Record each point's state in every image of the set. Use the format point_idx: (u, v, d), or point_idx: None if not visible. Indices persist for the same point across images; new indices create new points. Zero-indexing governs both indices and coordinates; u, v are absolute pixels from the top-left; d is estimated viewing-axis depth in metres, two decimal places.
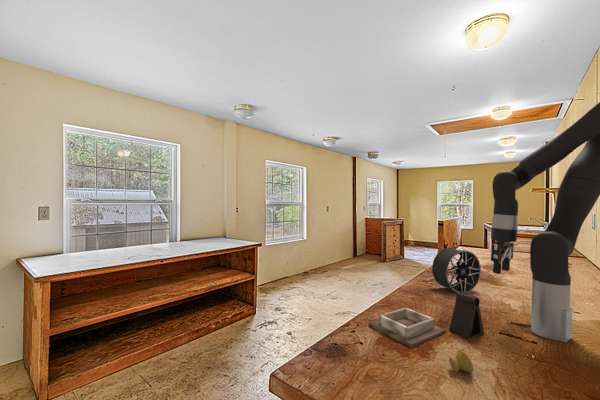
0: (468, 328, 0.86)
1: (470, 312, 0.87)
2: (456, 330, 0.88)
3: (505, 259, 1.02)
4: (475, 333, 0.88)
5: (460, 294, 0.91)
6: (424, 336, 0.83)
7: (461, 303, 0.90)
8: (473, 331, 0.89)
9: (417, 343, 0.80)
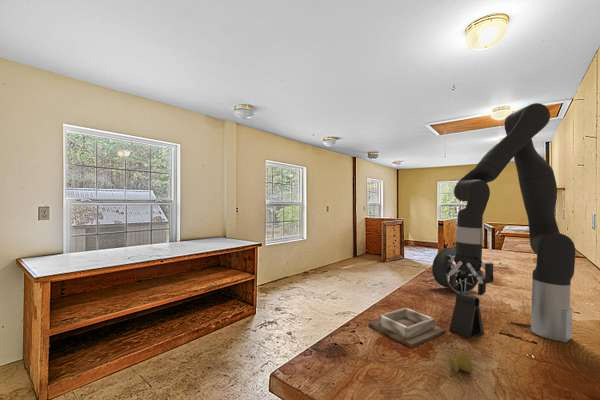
0: (468, 328, 0.86)
1: (470, 312, 0.87)
2: (456, 330, 0.88)
3: (454, 275, 0.94)
4: (475, 333, 0.88)
5: (460, 294, 0.91)
6: (424, 336, 0.83)
7: (461, 303, 0.90)
8: (473, 331, 0.89)
9: (417, 343, 0.80)
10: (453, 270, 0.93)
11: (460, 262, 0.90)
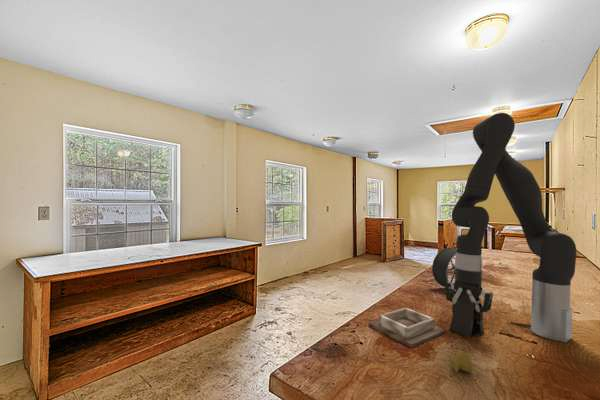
0: (468, 328, 0.86)
1: (470, 312, 0.87)
2: (456, 330, 0.88)
3: None
4: (475, 333, 0.88)
5: None
6: (424, 336, 0.83)
7: (461, 303, 0.90)
8: (473, 331, 0.89)
9: (417, 343, 0.80)
10: (455, 298, 0.92)
11: (460, 288, 0.90)
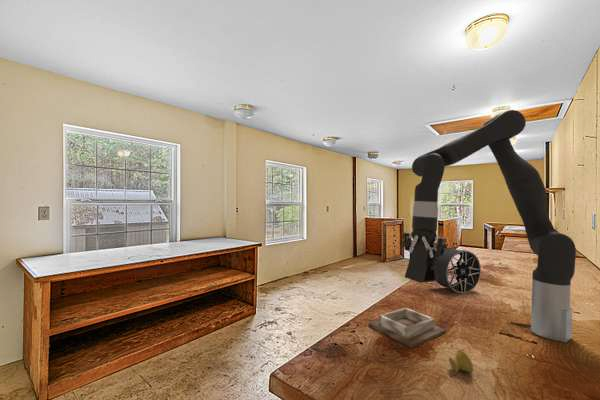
0: (421, 273, 0.87)
1: (424, 258, 0.88)
2: (410, 276, 0.89)
3: None
4: (429, 279, 0.89)
5: None
6: (424, 336, 0.83)
7: (417, 251, 0.91)
8: (428, 278, 0.90)
9: (417, 343, 0.80)
10: (412, 246, 0.92)
11: (416, 236, 0.91)
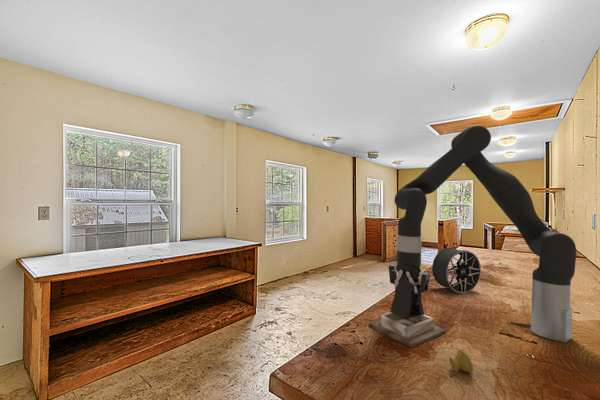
0: (406, 309, 0.86)
1: (408, 294, 0.87)
2: (396, 311, 0.89)
3: None
4: (414, 314, 0.88)
5: None
6: (424, 336, 0.83)
7: (402, 285, 0.90)
8: (413, 313, 0.90)
9: (417, 343, 0.80)
10: (397, 280, 0.92)
11: (400, 271, 0.90)
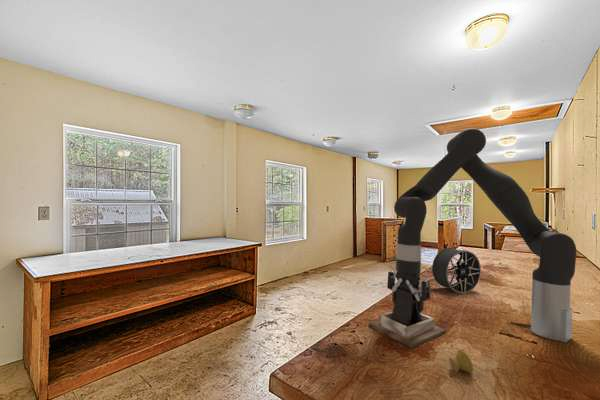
0: (406, 322, 0.86)
1: (408, 306, 0.87)
2: None
3: None
4: None
5: (400, 289, 0.91)
6: (424, 336, 0.83)
7: (401, 298, 0.90)
8: None
9: (417, 343, 0.80)
10: (395, 287, 0.92)
11: (400, 279, 0.90)
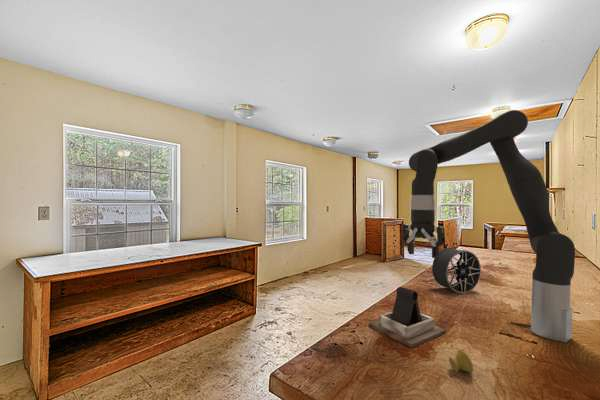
0: (406, 322, 0.86)
1: (408, 307, 0.87)
2: None
3: (411, 242, 0.98)
4: None
5: (400, 289, 0.91)
6: (424, 336, 0.83)
7: (401, 298, 0.90)
8: None
9: (417, 343, 0.80)
10: (410, 237, 0.97)
11: (415, 229, 0.95)
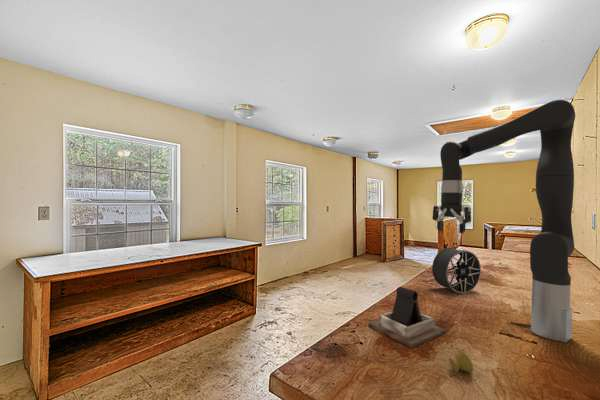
0: (406, 322, 0.86)
1: (408, 307, 0.87)
2: None
3: (440, 221, 1.15)
4: None
5: (400, 289, 0.91)
6: (424, 336, 0.83)
7: (401, 298, 0.90)
8: None
9: (417, 343, 0.80)
10: (440, 216, 1.14)
11: (445, 209, 1.12)
